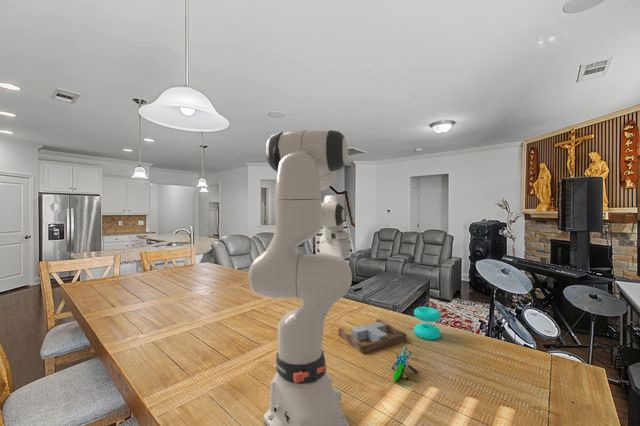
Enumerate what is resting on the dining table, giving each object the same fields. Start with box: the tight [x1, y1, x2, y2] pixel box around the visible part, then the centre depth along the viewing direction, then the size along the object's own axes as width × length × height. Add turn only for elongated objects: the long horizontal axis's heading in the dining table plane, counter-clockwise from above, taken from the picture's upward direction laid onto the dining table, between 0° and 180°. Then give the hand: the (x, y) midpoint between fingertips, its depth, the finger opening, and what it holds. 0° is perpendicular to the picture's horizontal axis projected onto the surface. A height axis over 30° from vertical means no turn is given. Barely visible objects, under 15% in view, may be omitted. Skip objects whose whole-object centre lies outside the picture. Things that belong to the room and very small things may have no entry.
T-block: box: [350, 321, 389, 342], centre depth 108 cm, size 11×14×4 cm
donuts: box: [413, 306, 442, 341], centre depth 111 cm, size 10×10×10 cm
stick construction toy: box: [391, 346, 419, 382], centre depth 85 cm, size 12×7×8 cm
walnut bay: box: [337, 318, 407, 354], centre depth 109 cm, size 16×20×2 cm
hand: (333, 266), depth 118 cm, fingers closed
